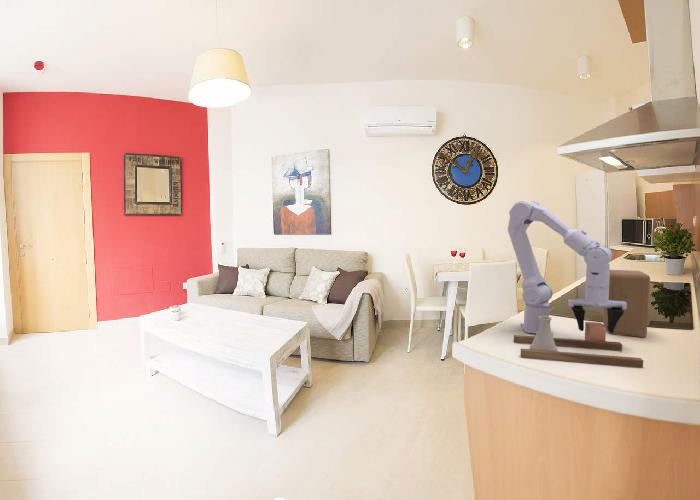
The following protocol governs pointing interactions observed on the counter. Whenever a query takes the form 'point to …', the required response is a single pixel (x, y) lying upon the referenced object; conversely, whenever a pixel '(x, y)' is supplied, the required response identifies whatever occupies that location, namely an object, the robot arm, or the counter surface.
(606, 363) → the strip
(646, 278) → the wooden block
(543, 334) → the flask
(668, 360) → the counter surface
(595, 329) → the block
